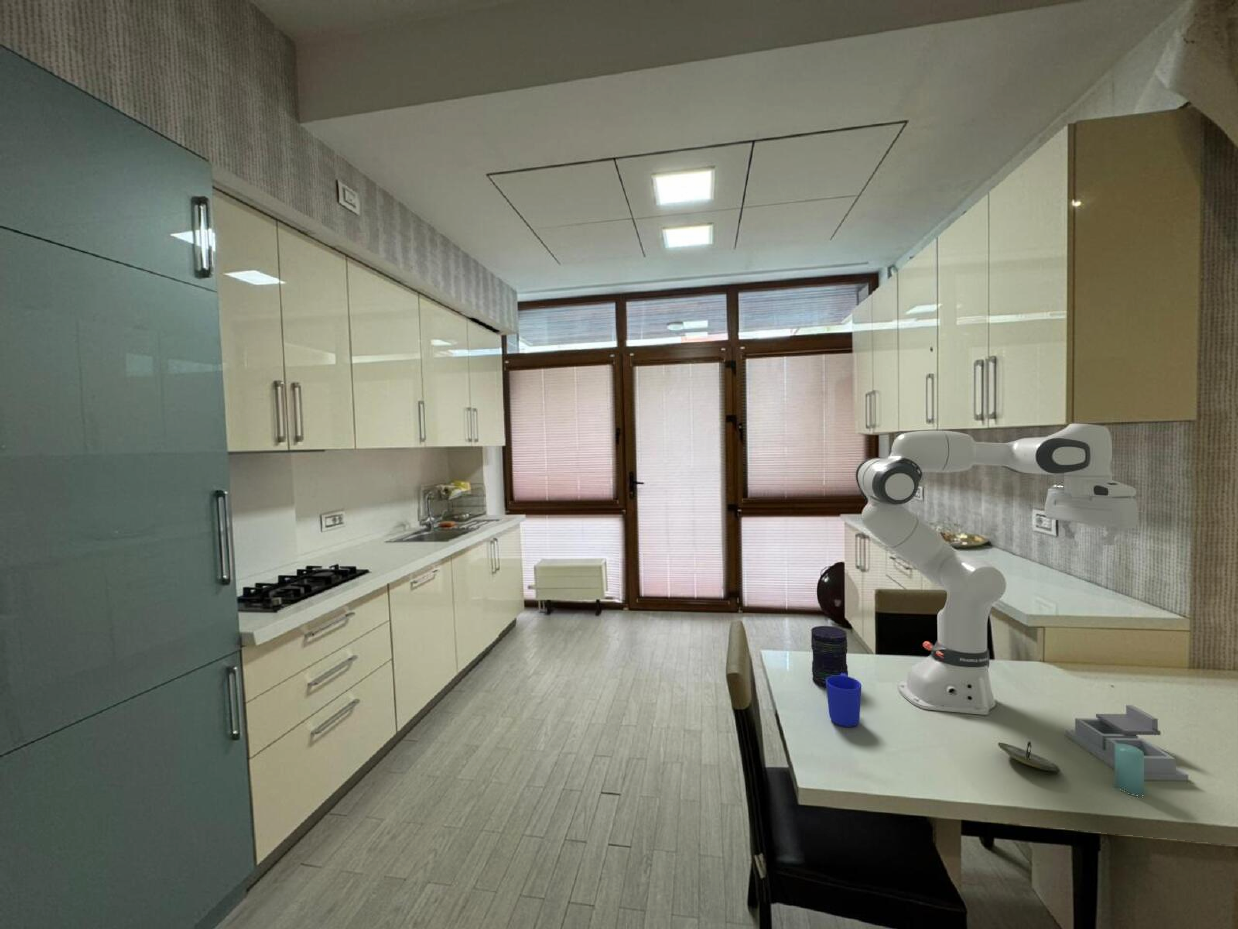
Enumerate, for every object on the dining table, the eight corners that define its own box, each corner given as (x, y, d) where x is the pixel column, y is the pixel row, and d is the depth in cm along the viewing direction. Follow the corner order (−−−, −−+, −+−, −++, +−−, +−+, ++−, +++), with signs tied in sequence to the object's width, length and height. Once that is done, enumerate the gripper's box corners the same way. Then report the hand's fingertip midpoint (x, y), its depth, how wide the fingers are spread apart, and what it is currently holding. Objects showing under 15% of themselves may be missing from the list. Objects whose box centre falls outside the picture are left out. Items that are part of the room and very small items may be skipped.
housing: (1188, 780, 101) (1188, 760, 101) (1129, 779, 102) (1128, 759, 102) (1116, 735, 117) (1115, 717, 117) (1065, 735, 118) (1065, 717, 117)
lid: (987, 759, 110) (986, 736, 110) (1014, 747, 114) (1014, 725, 114) (1044, 788, 100) (1044, 763, 100) (1071, 773, 104) (1071, 749, 104)
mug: (861, 709, 132) (860, 671, 132) (862, 733, 121) (861, 692, 121) (827, 703, 136) (827, 667, 135) (825, 726, 125) (824, 686, 124)
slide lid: (1160, 735, 109) (1160, 720, 109) (1124, 734, 109) (1124, 720, 109) (1129, 717, 116) (1129, 703, 116) (1095, 717, 117) (1095, 703, 116)
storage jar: (817, 671, 155) (815, 623, 155) (851, 679, 149) (850, 629, 149) (808, 684, 147) (806, 633, 147) (844, 693, 141) (842, 640, 141)
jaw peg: (1127, 796, 97) (1127, 755, 97) (1109, 782, 101) (1108, 743, 101) (1150, 796, 97) (1149, 755, 96) (1130, 783, 101) (1130, 743, 100)
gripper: (1037, 484, 137) (1037, 535, 138) (1120, 490, 117) (1120, 549, 117) (1058, 484, 138) (1058, 534, 138) (1144, 489, 118) (1143, 548, 118)
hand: (1087, 541), depth 128 cm, fingers open, 8 cm apart
